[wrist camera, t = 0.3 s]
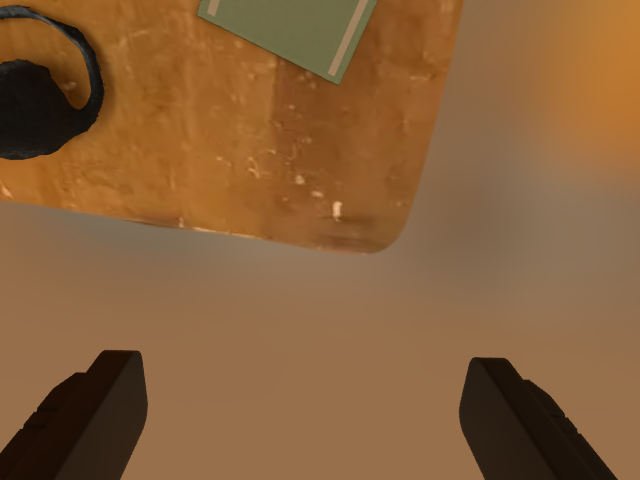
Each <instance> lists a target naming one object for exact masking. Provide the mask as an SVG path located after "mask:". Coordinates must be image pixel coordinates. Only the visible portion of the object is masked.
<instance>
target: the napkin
mask: <svg viewBox="0 0 640 480" xmlns="http://www.w3.org/2000/svg"><path fill="white" fill-rule="evenodd" d="M377 1H378V0H201V2H200V5H199V9H198V12H197V16H199V17H201V18H203V19H205V20H207V21H209V22H211V23H213V24H215V25H217V26H219V27H221V28H223V29H225V30H227V31H229V32H231V33H233V34H236V35H238V36H240V37H242V38H244V39H246V40H248V41H250V42H252V43H254V44H256V45H258V46H260V47H262V48H264V49H266V50H268V51H270V52H272V53H274V54H276V55H278V56H280V57H282V58H284V59H286V60H288V61H290V62H292V63H294V64H296V65H298V66H300V67H302V68H304V69H306V70H308V71H310V72H312V73H314V74H316V75H318V76H321V77H323V78H325V79H327V80H329V81H331V82H333V83H335V84H337V85H339V84H340V82H341V80H342V77H343V75H344V73H345V71H346V69H347V66H348V64H349V62H350V60H351V58H352V55H353V53H354V51H355V49H356V47H357V44H358V42H359V40H360V38H361V36H362V33H363V31H364V29H365V27H366V25H367V23H368V20H369V18H370V16H371V14H372V12H373V9H374V7H375V5H376V3H377Z"/></svg>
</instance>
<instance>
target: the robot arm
mask: <svg viewBox="0 0 640 480" xmlns="http://www.w3.org/2000/svg"><path fill="white" fill-rule="evenodd" d="M147 408H148V403H147V393H146V385H145V377H144V369H143V361H142V356H141V353H140V352H139V351H131V350H129V351H128V350H126V351H125V350H104V351H102V352H101V353H100V355H99V356H98V357H97V358H96V360H95V361H94V363H93V364H92V365H91V367H90V368H89V369H88V370H87V372H86V373H79V372H77V373H75V374H73V375H72V376H70V377H69V378H68V379H66V380H65V381H64V382H62V383H60V384H59V385H58V386H56V387H55V388H54V389H52V391H51V392H50V393H49V394H48V396H47V397H46V398H45V399H44V401H43V402H42V403H41V404H40V405H39V407H38V408H37V412H34V413H33V414H32V415H31V416H30V418H29V419H28V420H27V421H26V423H25V424H24V427H23V429H20V430H19V431H18V432H17V433H16V435H15V436H14V437H13V438H12V440H11V441H10V442H9V443H8V444H7V446H6V447H5V448H4V449H3V451H2V452H1V453H0V480H120V478H121V476H122V474H123V472H124V470H125V468H126V465H127V463H128V461H129V459H130V457H131V455H132V452H133V450H134V448H135V446H136V444H137V441H138V439H139V437H140V435H141V433H142V430H143V428H144V425H145V421H146V416H147ZM459 418H460V424H461V428H462V431H463V434H464V436H465V438H466V440H467V442H468V445H469V446H470V449H471V451H472V453H473V455H474V457H475V460H476V462H477V464H478V466H479V468H480V470H481V472H482V474H483V477H484V478H485V480H618V479H617V478H616V477H615V476H614V474H613V473H612V472H611V471H610V469H609V468H608V467H607V466H606V464H605V463H604V462H603V461H602V460H601V458H600V457H599V456H598V455H597V453H596V452H595V451H594V450H593V448H592V447H591V446H590V445H589V443H588V442H587V441H586V440H585V439H584V437H583V436H582V435H581V434H578V432H577V428H575V426H574V425H573V423H572V422H571V421H570V420H569V419H568V418H566V417H565V414H564V412H563V411H562V410H561V409H560V407H559V406H558V405H557V404H556V402H555V401H554V400H553V399H552V397H551V396H550V395H549V394H547V393H546V392H545V391H543V390H542V389H540V388H539V387H538V386H537V385H535V384H534V383H533V382H531V381H530V380H523V379H522V378H521V376H520V375H519V374H518V373H517V371H516V370H515V368H514V367H513V366H512V364H511V363H510V362H509V361H508V360H507V359H505V358H481V357H474V358H472V360H471V361H470V363H469V367H468V371H467V375H466V380H465V384H464V389H463V393H462V397H461V402H460V407H459Z"/></svg>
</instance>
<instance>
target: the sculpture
mask: <svg viewBox="0 0 640 480" xmlns="http://www.w3.org/2000/svg"><path fill="white" fill-rule="evenodd" d="M26 8H30V7H23V6H20V5H13V6H5V7H0V19H4V18H32V19H37V20H41V21H43V22H45V23H47V24H50V25H52V26H53V27H55V28H57V29H58V30H59V31H60V32H62V33H63V34H64V35H65V36H66V37H67V38H69V39H70V40H71V41H72V42H73V43H74V44H75V45H76V46H77V47H78V48H79V49H80V50H81V52H82V55H83V57H84V60H85V63H86V66H87V70H88V73H89V79H90V85H91V94H90V98H89V100H88V102H87V104H86V105H85V106H84V107H83V108H82V109H80V110H77V109H75V108H73V107H72V106H71V105H70V104H69V102H68V100H67V98H66V96H65V94H64V93H63V92H62V90H61V89H60V88H59V86H58V85H57V84H56V83H55V82H54V81H53V80H52V79H51V77H50V76H51V75H50V72H49V70H48V68H46V67H44V66H41V65H36V64H33V63H31V62H29V61H27V60H25V61H24V60H18V59H16V60H14V61H9V62H3V63H2V64H0V158H5V159H9V160H23V159H29V158H33V157H37V156H39V155H49V154H52V153H54V152H56V151H57V150H59V149H60V148H61V147H62V146H63V145H64V144H65V143H66V142H68V141H69V140H70V139H72V138H73V137H75V136H77V135H79V134H81V133H84V132H86V131H88V129H89V128H90V127H91V125H92V124H94V122H95V121H96V118H97V117H99V116H98V113H99V111H100V108H101V107H102V104H103V102H102V101H103V97H104V93H105V91H104V87H105V86H104V87H103V85H104V84H105V83H103V79H102V77H101V73H100V69H101V68H100V69H99V67H100V66H99V63H98V61H97V58H96V54H95V52H94V50H93V49H92V47H91V46H90V44H89V43H88V42H87V40H86V39H85V37H84V35H83V34H82V33H81V32H80V31H79V30H78V29H77V28H75V27H72V26H69V25H66V24H64V23H61V22H57V21H55V20H53V19H50V18H48V17H45V16H41V15H40V14H39V13H36V12H34V11H30V10H28V9H26Z"/></svg>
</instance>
